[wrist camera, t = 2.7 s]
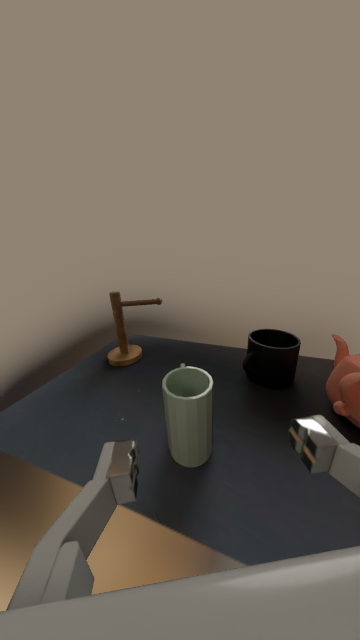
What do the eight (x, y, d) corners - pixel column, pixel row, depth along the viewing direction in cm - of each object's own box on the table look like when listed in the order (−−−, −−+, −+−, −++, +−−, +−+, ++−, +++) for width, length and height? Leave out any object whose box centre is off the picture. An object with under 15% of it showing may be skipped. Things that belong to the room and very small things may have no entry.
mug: (227, 372, 42) (229, 336, 39) (267, 359, 46) (271, 325, 43) (259, 400, 34) (264, 357, 31) (304, 381, 38) (312, 341, 35)
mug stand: (104, 367, 47) (88, 297, 41) (113, 350, 55) (101, 290, 49) (167, 361, 48) (160, 292, 42) (166, 345, 56) (161, 286, 50)
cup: (217, 464, 24) (219, 396, 20) (170, 471, 23) (162, 402, 20) (201, 404, 33) (200, 351, 30) (167, 408, 33) (162, 354, 29)
